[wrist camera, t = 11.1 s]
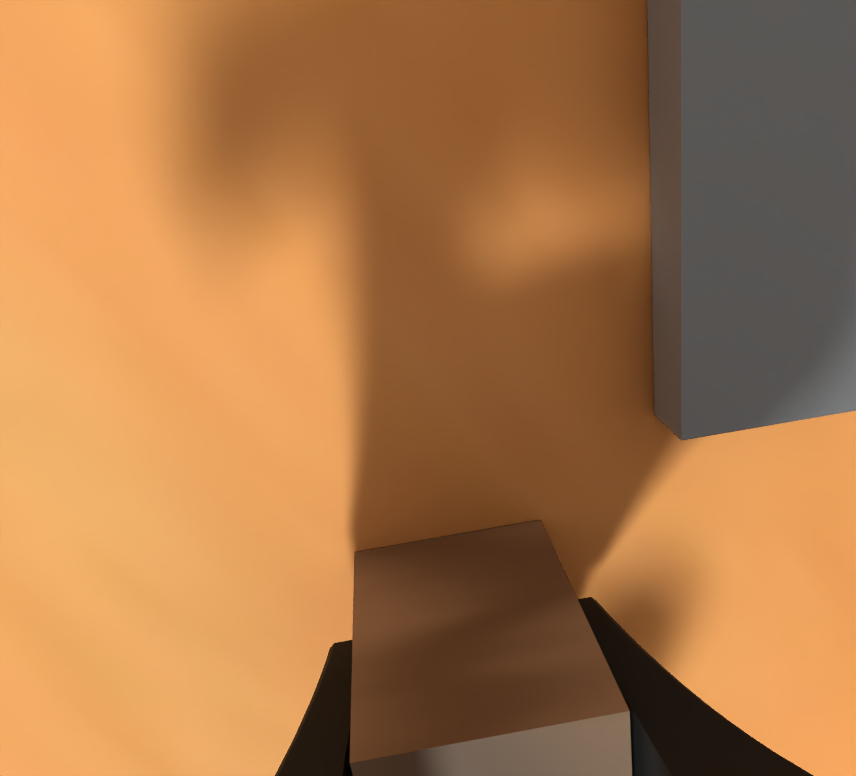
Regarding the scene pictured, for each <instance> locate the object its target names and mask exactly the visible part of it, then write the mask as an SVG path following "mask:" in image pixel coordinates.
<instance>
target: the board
mask: <svg viewBox="0 0 856 776" xmlns="http://www.w3.org/2000/svg"><path fill="white" fill-rule="evenodd" d="M647 14H648V71H649V128H650V185H651V242H652V299H653V357H654V414H655V416H656V417H657V418H658V419H659V420H660V421H661V422H662V423H663V424H664V425H666V426H667V427H668V428H669V429H670V430H671V431H672V432H673V433H674V434H675V435H676V436H677V437H678V438H679V439H680V440H687V439H693V438H698V437H704V436H710V435H716V434H722V433H727V432H733V431H739V430H745V429H751V428H756V427H762V426H768V425H774V424H780V423H785V422H791V421H797V420H803V419H809V418H814V417H820V416H826V415H832V414H838V413H843V412H849V411H855V410H856V0H647Z"/></svg>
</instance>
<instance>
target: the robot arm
mask: <svg viewBox="0 0 856 776" xmlns="http://www.w3.org/2000/svg"><path fill="white" fill-rule="evenodd" d="M578 601H579V603H580V606H581V608H582V610H583V612H584V614H585V616H586V618H587V621H588V623H589V625H590V627H591V629H592V631H593V633H594V636H595V638H596V640H597V642H598V644H599V646H600V648H601V651H602V653H603V655H604V657H605V659H606V661H607V663H608V666H609V668H610V670H611V672H612V674H613V676H614V678H615V681H616V683H617V685H618V687H619V689H620V691H621V693H622V696H623V698H624V700H625V702H626V704H627V706H628V708H629V711H630V732H631V757H632V776H813V775H811V774H810V773H808V772H806V771H805V770H803V769H801V768H800V767H798V766H796V765H795V764H793V763H791V762H790V761H788V760H786V759H785V758H783V757H781V756H780V755H778V754H776V753H775V752H773V751H772V750H770V749H769V748H767V747H766V746H764V745H763V744H761V743H760V742H758V741H757V740H755V739H754V738H752V737H751V736H749V735H748V734H747V733H745V732H744V731H742V730H741V729H740V728H738V727H737V726H735V725H734V724H733V723H731V722H730V721H728V720H727V719H726V718H724V717H723V716H722V715H720V714H719V713H718V712H716V711H715V710H714V709H713V708H711V707H710V706H709V705H707V704H706V703H705V702H704V701H702V700H701V699H700V698H699V697H697V696H696V695H695V694H694V693H693V692H691V691H690V690H689V689H688V688H686V687H685V686H684V685H683V684H682V683H681V682H679V681H678V680H677V679H676V678H675V677H674V676H672V675H671V674H670V673H669V672H668V671H667V670H666V669H665V668H664V667H662V666H661V665H660V664H659V663H658V662H657V661H656V660H655V659H654V658H653V657H651V656H650V655H649V654H648V653H647V652H646V651H645V650H644V649H643V648H642V647H641V646H640V645H639V644H638V643H637V642H636V641H635V640H634V639H633V638H632V637H631V636H630V635H629V634H628V633H627V632H626V631H624V630H623V629H622V627H621V626H620V625H619V624H618V623H617V622H616V621H615V620H614V619H613V618H612V617H611V616H610V615H609V614H608V613H607V612H606V611H605V610H604V609H603V607H602V606H601V605H600V604H599V603H598V602H597V601H596V600H595V599H593V598H592V597H588V598H583V599H578ZM352 641H353V640H349V641H344V642H338V643H334V644H333V645H332V647H331V648H330V650H329V653H328V656H327V659H326V662H325V665H324V668H323V671H322V674H321V676H320V679H319V682H318V684H317V687H316V689H315V692H314V694H313V697H312V699H311V702H310V704H309V706H308V708H307V711H306V713H305V715H304V717H303V720H302V722H301V724H300V726H299V729H298V731H297V733H296V735H295V737H294V739H293V741H292V743H291V745H290V747H289V749H288V751H287V753H286V755H285V757H284V759H283V761H282V763H281V765H280V767H279V769H278V771H277V773H276V775H275V776H353V774H352V770H351V766H350V727H351V684H352Z"/></svg>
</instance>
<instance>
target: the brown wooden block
mask: <svg viewBox="0 0 856 776" xmlns="http://www.w3.org/2000/svg"><path fill="white" fill-rule="evenodd" d="M350 766H351V770H352V774H353V776H632V757H631V732H630V711H629V708H628V706H627V704H626V702H625V700H624V698H623V696H622V693H621V691H620V689H619V687H618V685H617V683H616V681H615V678H614V676H613V674H612V672H611V670H610V668H609V666H608V663H607V661H606V659H605V657H604V655H603V653H602V651H601V648H600V646H599V644H598V642H597V640H596V638H595V636H594V633H593V631H592V629H591V627H590V625H589V623H588V621H587V618H586V616H585V614H584V612H583V610H582V608H581V606H580V603H579V601H578V599H577V597H576V595H575V593H574V591H573V588H572V586H571V584H570V582H569V580H568V578H567V575H566V573H565V571H564V569H563V567H562V565H561V563H560V560H559V558H558V556H557V554H556V552H555V550H554V548H553V545H552V543H551V541H550V539H549V537H548V535H547V533H546V530H545V528H544V526H543V524H542V522H541V520H537V521H531V522H525V523H520V524H514V525H508V526H503V527H497V528H491V529H485V530H480V531H474V532H468V533H463V534H457V535H451V536H446V537H440V538H434V539H428V540H423V541H417V542H411V543H406V544H400V545H394V546H389V547H383V548H377V549H371V550H366V551H360V552H355V555H354V598H353V641H352V684H351V727H350Z"/></svg>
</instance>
